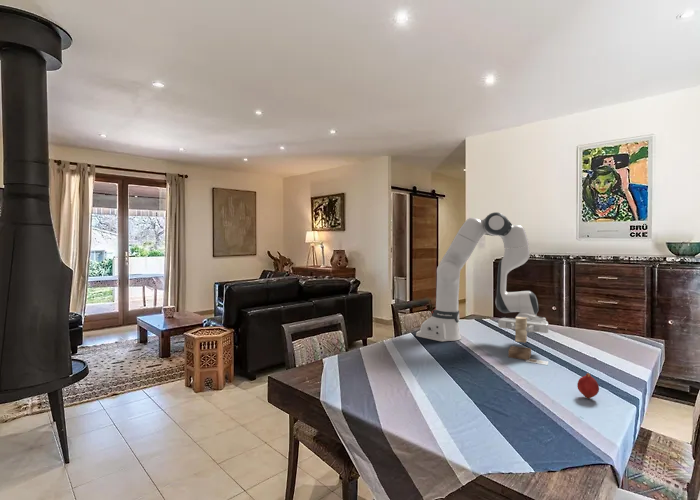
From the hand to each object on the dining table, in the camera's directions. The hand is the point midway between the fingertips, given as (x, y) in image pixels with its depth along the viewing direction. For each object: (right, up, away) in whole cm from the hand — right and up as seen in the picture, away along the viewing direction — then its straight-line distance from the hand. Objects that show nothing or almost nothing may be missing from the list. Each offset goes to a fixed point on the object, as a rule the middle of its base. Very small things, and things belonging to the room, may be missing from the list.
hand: (520, 328), depth 160 cm
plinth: (0, -12, +1) cm, 12 cm away
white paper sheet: (+4, -12, -6) cm, 14 cm away
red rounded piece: (+2, -14, -41) cm, 43 cm away
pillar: (0, -5, +1) cm, 6 cm away
